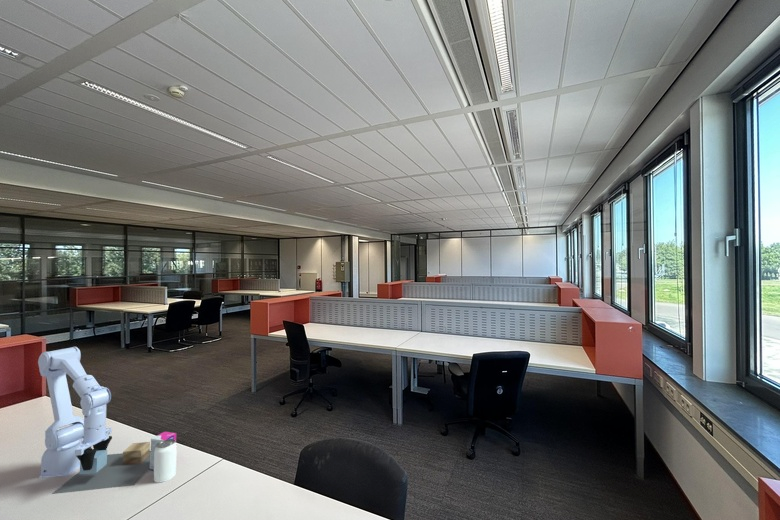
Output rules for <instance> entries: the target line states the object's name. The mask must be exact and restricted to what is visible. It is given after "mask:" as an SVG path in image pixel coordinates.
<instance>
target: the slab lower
mask: <svg viewBox="0 0 780 520" xmlns="http://www.w3.org/2000/svg"><path fill="white" fill-rule="evenodd" d="M150 451H151V448H150V449H148V450H147V451H146V452H145V453H144V454H143V455H142V456H141V457H135V458H125V459H123V465H133V464H141V463H142V462H143V461H144V460H145V459H146V458H147V457H148V456H149V455H150Z"/></svg>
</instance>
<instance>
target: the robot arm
mask: <svg viewBox="0 0 780 520" xmlns="http://www.w3.org/2000/svg"><path fill="white" fill-rule="evenodd" d="M81 353H82V352H81V350H80V348H78V347H77V346H71V347H67V348H61V349H56V350H51V351H43V352H42V353H41V354H40V355H39V357H38V361H37V364H38V368H39V373H40V376H41V377H45V378H46V382H47V386H48V387H47V389H48V392H49V393H48V394H49V397H50V403H51V408H52V415H53V419H54V421H53V423H51V425H50V426H48V427H47V429H46V430H45V431H44V446H45V447H46V450H44V452H43V454H42V456H41V458H40V459H41V460H40V463H41V464H40V475H39V476H38V479H46V478H57V477H67V476H70V475H72V474H73V473H75V472H76V471H77V470H78V469H80V462H81V465H82V468H83V470H84V471H85V470H91V469H92V466H93V460H94V456H95V453H96V451H100V450H108V446H109V444H110V442H111V441H112V439H113V436H112V435H111V434H112V431H113V430H112V429H113V428H112V427H107V404H109V403H110V402H111V399H112V393H111V390H110V389H109V388H108V387H104V386H101V385H100V384H99V382H98V381H97V380H96V378H95V377H94V375H92V374H87V373H86V371H85V369H84V367H83V365H82V364H81V363H82V362H81V357H82V355H81ZM67 375H68V376H69V377H70V378H71V380H73V384H72V388H73V389H74V390H75V392H76V394H77V395H78V396H79V397H80V402H79V404H80V407H81V413H82V415H83V417H82V416H78V415H75V414H74V410H73V405H72V401H71V400H72V399H71V393H70V390H69V385H68V380H67ZM92 447H93V448H92Z"/></svg>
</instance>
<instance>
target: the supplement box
mask: <svg viewBox="0 0 780 520" xmlns="http://www.w3.org/2000/svg"><path fill="white" fill-rule="evenodd" d="M167 439H174V440H175V443H176V444H177V433H176V432H170V431H163V432H161V433H159V434H158V435H155V436H154V437H152V438H151V439H150V469H149V470H150V471H154V451H155V448H156V445H157V444H158V443H159V442H161V441H163V440H167Z"/></svg>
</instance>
